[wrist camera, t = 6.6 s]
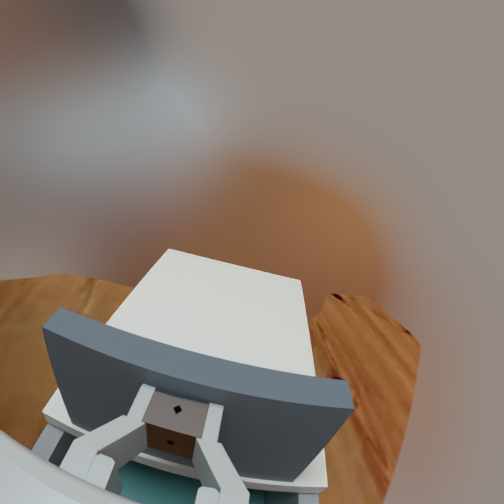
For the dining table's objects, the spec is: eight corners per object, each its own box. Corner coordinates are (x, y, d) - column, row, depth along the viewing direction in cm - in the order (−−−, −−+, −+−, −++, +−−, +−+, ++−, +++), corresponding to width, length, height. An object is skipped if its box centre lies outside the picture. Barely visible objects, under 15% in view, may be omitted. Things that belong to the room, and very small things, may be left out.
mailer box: (271, 562, 12) (320, 547, 9) (65, 509, 12) (22, 466, 8) (277, 369, 34) (300, 310, 31) (150, 338, 34) (153, 275, 31)
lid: (320, 493, 12) (399, 415, 9) (46, 421, 12) (5, 312, 9) (298, 287, 35) (318, 224, 32) (167, 256, 35) (177, 191, 32)
